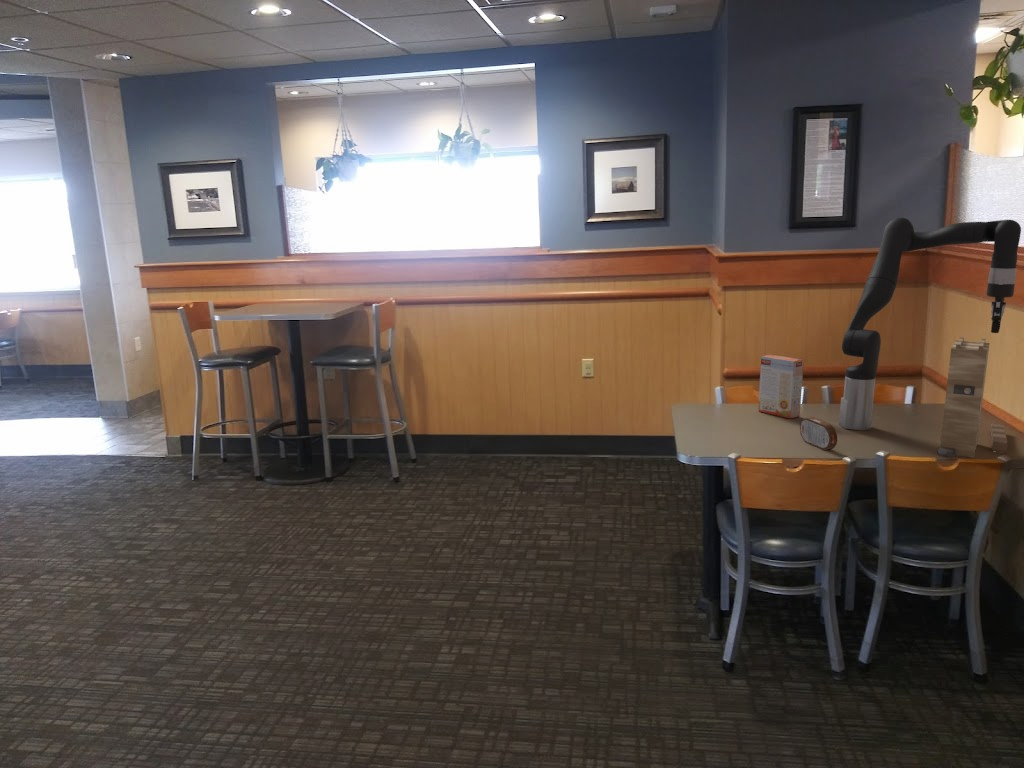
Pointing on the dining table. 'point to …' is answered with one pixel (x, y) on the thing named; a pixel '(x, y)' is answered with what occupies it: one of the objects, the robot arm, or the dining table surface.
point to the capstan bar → (998, 438)
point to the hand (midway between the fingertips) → (995, 331)
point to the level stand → (964, 398)
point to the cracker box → (780, 386)
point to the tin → (818, 433)
